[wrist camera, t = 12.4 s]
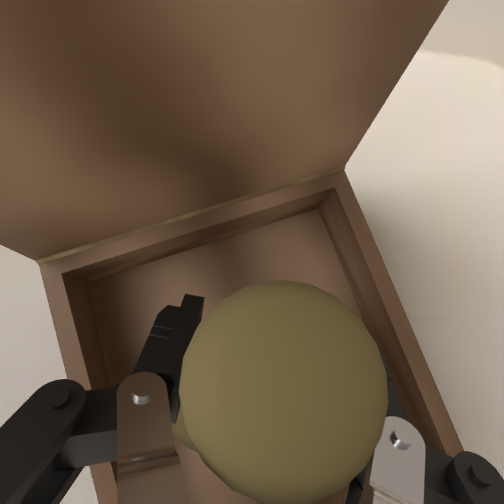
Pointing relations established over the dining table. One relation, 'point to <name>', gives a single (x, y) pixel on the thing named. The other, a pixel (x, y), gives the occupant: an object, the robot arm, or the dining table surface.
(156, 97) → the box lid
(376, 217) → the dining table surface
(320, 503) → the walnut box
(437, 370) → the dining table surface
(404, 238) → the dining table surface
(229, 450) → the olive tapered rounded piece
